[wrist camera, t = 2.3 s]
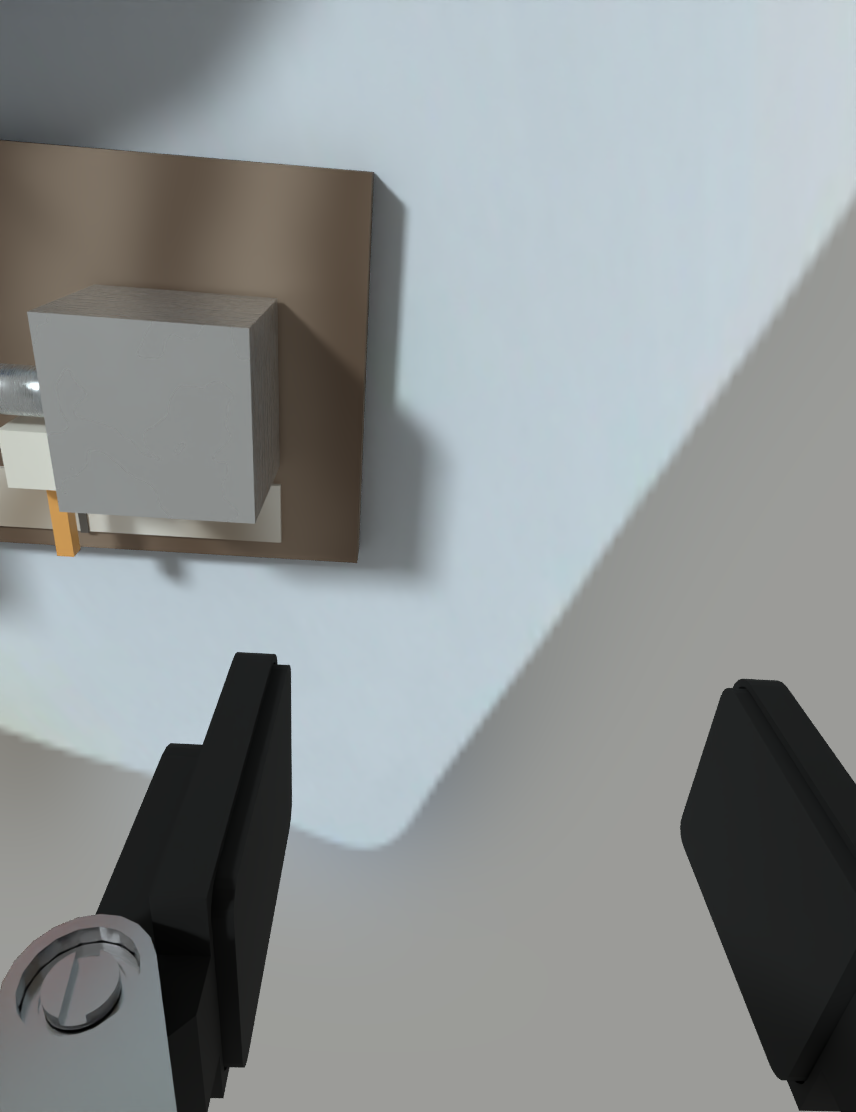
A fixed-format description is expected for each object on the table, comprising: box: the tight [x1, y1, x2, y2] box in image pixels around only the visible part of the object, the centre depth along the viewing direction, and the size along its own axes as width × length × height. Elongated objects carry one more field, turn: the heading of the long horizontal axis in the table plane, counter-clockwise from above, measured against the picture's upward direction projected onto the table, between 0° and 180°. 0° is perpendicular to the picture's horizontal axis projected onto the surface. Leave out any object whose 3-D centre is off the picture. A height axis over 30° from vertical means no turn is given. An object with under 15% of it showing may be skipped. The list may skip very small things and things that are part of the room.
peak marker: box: [0, 416, 80, 557], centre depth 27 cm, size 2×5×3 cm, turn 176°
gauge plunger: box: [0, 284, 280, 524], centre depth 24 cm, size 10×6×5 cm, turn 86°
